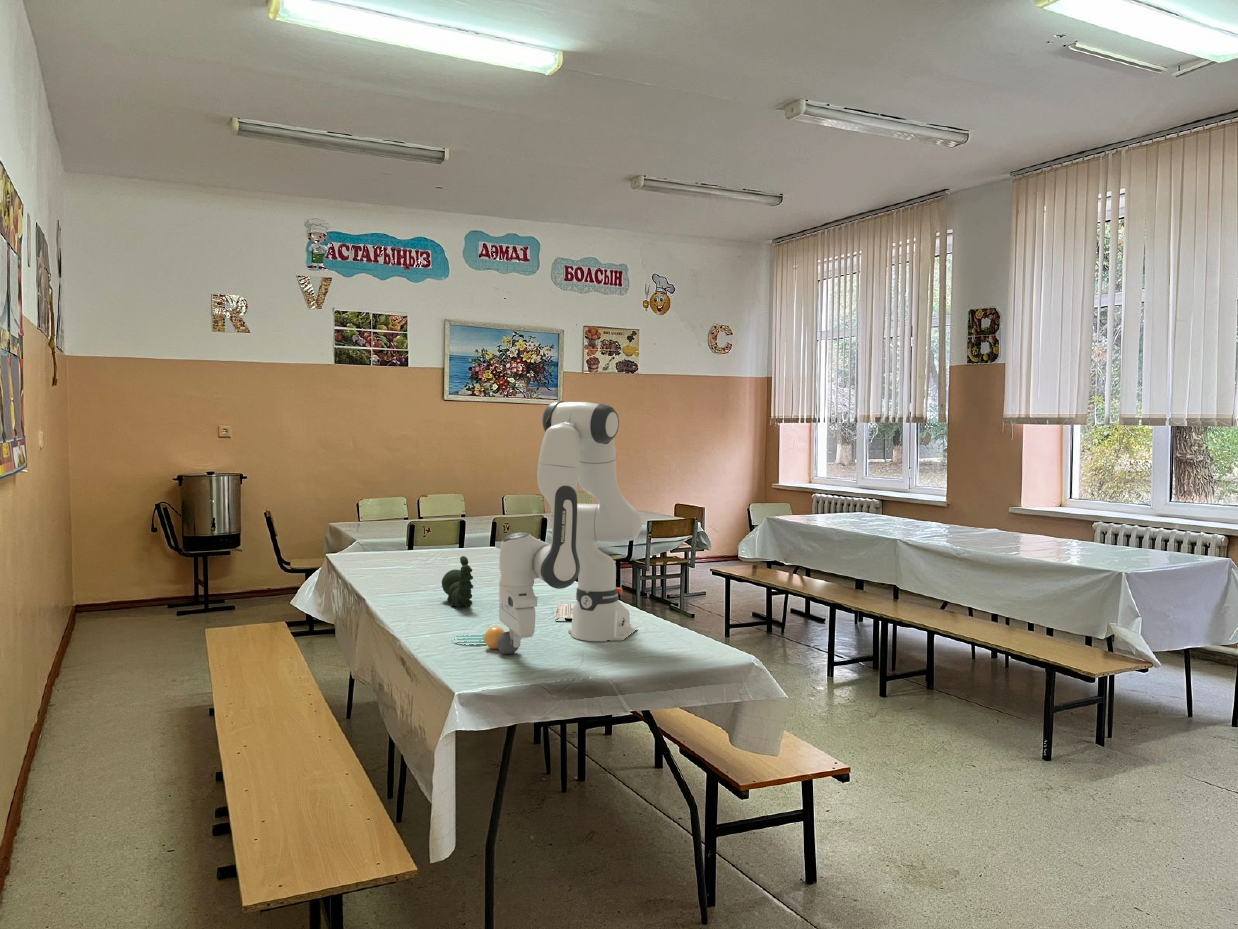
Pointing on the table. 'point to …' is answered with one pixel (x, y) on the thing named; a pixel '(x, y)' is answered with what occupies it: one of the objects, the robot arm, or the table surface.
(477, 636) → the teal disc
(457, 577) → the toy figurine
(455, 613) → the table surface
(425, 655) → the table surface
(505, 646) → the dark grey ball
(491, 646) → the orange ball
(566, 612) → the newspaper
